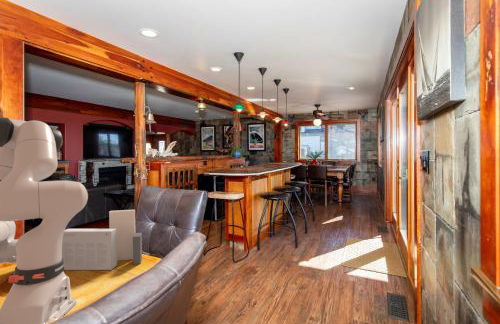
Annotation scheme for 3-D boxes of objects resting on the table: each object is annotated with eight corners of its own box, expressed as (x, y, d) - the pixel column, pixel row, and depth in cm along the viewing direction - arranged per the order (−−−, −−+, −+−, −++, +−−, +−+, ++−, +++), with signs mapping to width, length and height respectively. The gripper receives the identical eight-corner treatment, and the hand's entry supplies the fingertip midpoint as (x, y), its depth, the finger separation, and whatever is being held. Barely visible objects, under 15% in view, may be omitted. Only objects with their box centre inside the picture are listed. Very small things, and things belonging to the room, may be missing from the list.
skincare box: (118, 264, 117) (117, 228, 116) (111, 270, 111) (110, 231, 111) (68, 264, 117) (67, 227, 116) (60, 270, 112) (58, 231, 111)
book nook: (140, 263, 118) (139, 213, 117) (106, 267, 115) (105, 214, 114) (142, 257, 126) (142, 209, 125) (110, 260, 122) (109, 210, 121)
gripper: (7, 251, 99) (52, 248, 103) (35, 235, 119) (71, 232, 122) (8, 268, 99) (52, 264, 103) (35, 249, 119) (72, 246, 123)
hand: (63, 247), depth 113 cm, fingers closed on skincare box, 3 cm apart
